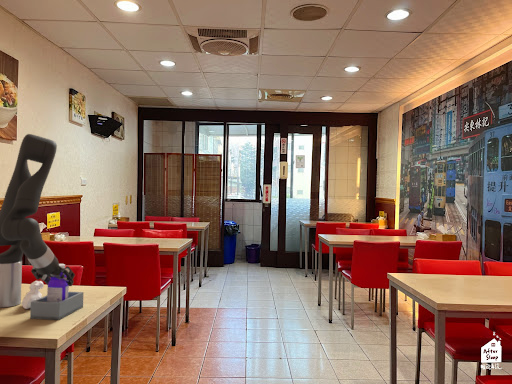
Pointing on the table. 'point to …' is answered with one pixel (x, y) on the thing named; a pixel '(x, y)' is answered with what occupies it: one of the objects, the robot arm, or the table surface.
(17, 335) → the table surface
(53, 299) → the bottle
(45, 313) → the tote
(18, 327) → the table surface
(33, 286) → the bust
